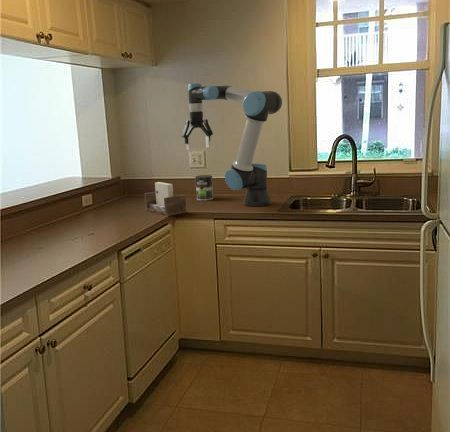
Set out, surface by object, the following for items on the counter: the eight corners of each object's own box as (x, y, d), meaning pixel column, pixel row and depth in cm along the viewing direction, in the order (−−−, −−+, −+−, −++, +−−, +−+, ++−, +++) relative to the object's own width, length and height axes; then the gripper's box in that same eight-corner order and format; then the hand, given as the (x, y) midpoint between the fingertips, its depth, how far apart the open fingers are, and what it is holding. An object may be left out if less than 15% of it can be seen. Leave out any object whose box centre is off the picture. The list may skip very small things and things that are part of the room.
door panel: (174, 209, 285) (172, 184, 282) (168, 210, 283) (167, 185, 280) (161, 206, 296) (159, 181, 293) (156, 207, 294) (154, 182, 291)
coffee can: (210, 200, 315) (209, 177, 312) (194, 200, 318) (192, 177, 315) (215, 197, 325) (214, 174, 322) (199, 197, 328) (198, 175, 325)
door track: (186, 212, 284) (185, 195, 282) (167, 216, 277) (165, 198, 275) (164, 206, 303) (162, 190, 301) (145, 210, 296) (144, 193, 294)
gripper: (210, 110, 310) (212, 146, 314) (173, 112, 295) (176, 150, 300) (217, 110, 304) (219, 146, 308) (180, 112, 290) (183, 150, 294)
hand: (198, 148), depth 304 cm, fingers open, 13 cm apart
